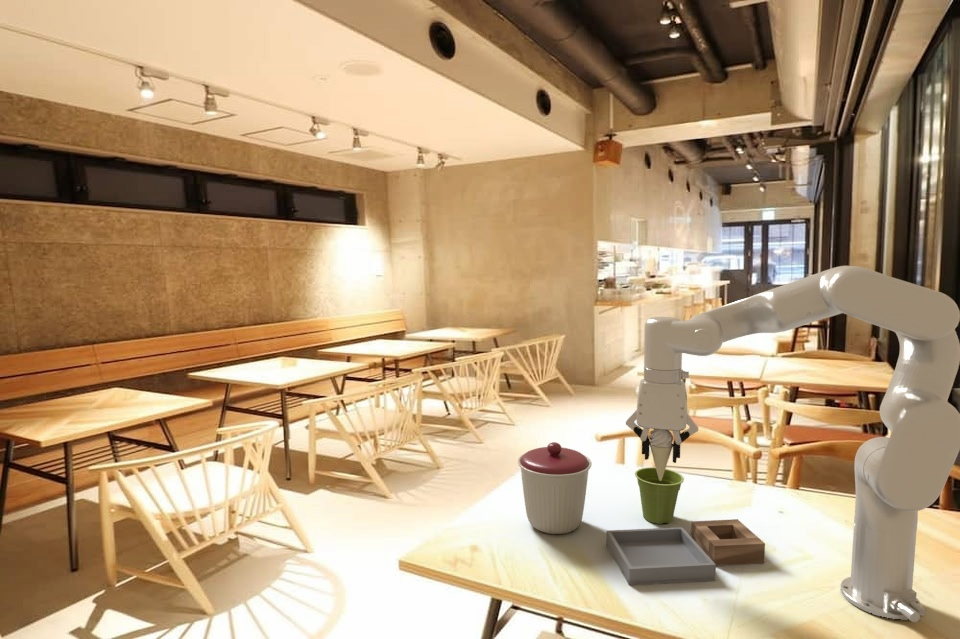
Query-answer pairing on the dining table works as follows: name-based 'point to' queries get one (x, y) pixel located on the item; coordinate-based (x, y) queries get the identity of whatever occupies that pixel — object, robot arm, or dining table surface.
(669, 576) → the grey tray
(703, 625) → the dining table surface
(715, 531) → the cone stand
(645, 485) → the plant pot
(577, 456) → the canister
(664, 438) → the ice cream cone
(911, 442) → the robot arm
